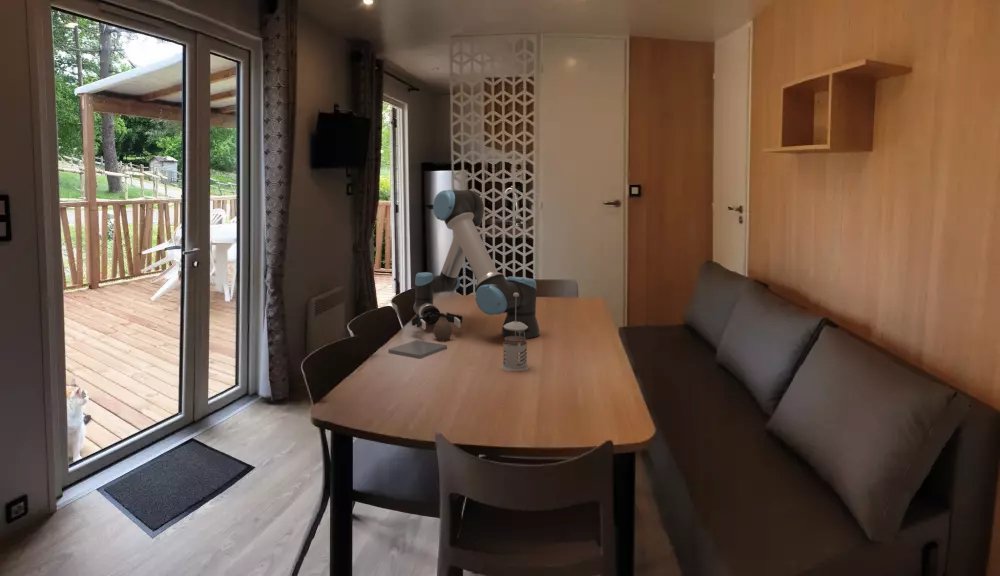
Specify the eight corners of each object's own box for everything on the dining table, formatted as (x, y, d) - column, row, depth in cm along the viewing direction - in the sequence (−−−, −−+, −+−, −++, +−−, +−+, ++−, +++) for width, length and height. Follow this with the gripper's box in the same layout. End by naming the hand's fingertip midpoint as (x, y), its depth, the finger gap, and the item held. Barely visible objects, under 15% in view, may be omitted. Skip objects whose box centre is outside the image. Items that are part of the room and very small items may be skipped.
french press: (495, 369, 210) (496, 293, 206) (508, 360, 221) (509, 288, 217) (523, 372, 207) (525, 296, 203) (535, 363, 217) (537, 290, 213)
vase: (448, 342, 244) (448, 319, 242) (431, 341, 245) (431, 318, 244) (453, 338, 250) (453, 316, 249) (436, 337, 252) (436, 315, 250)
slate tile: (446, 348, 235) (446, 345, 235) (420, 358, 221) (420, 355, 221) (416, 343, 242) (416, 340, 242) (388, 352, 228) (388, 349, 228)
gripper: (458, 321, 271) (473, 332, 251) (399, 324, 263) (410, 336, 243) (458, 303, 270) (473, 313, 250) (399, 306, 261) (409, 317, 242)
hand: (442, 324), depth 246 cm, fingers open, 13 cm apart
